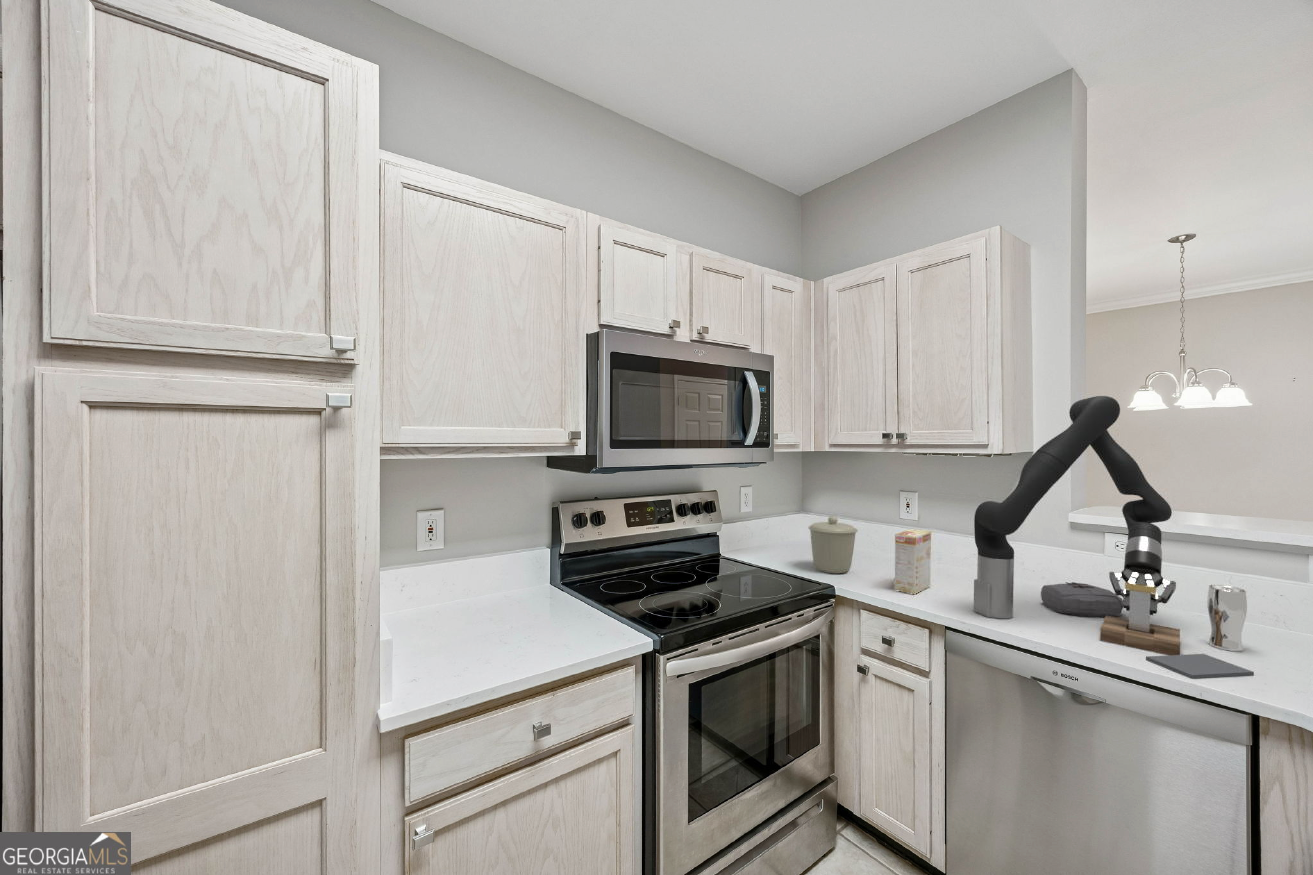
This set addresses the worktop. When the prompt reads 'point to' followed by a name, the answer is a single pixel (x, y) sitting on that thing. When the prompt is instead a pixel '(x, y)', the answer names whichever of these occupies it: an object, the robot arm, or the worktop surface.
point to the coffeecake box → (912, 560)
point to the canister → (832, 545)
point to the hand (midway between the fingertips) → (1139, 611)
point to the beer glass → (1226, 616)
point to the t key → (1139, 606)
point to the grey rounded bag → (1081, 600)
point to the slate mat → (1199, 666)
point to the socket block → (1141, 636)
